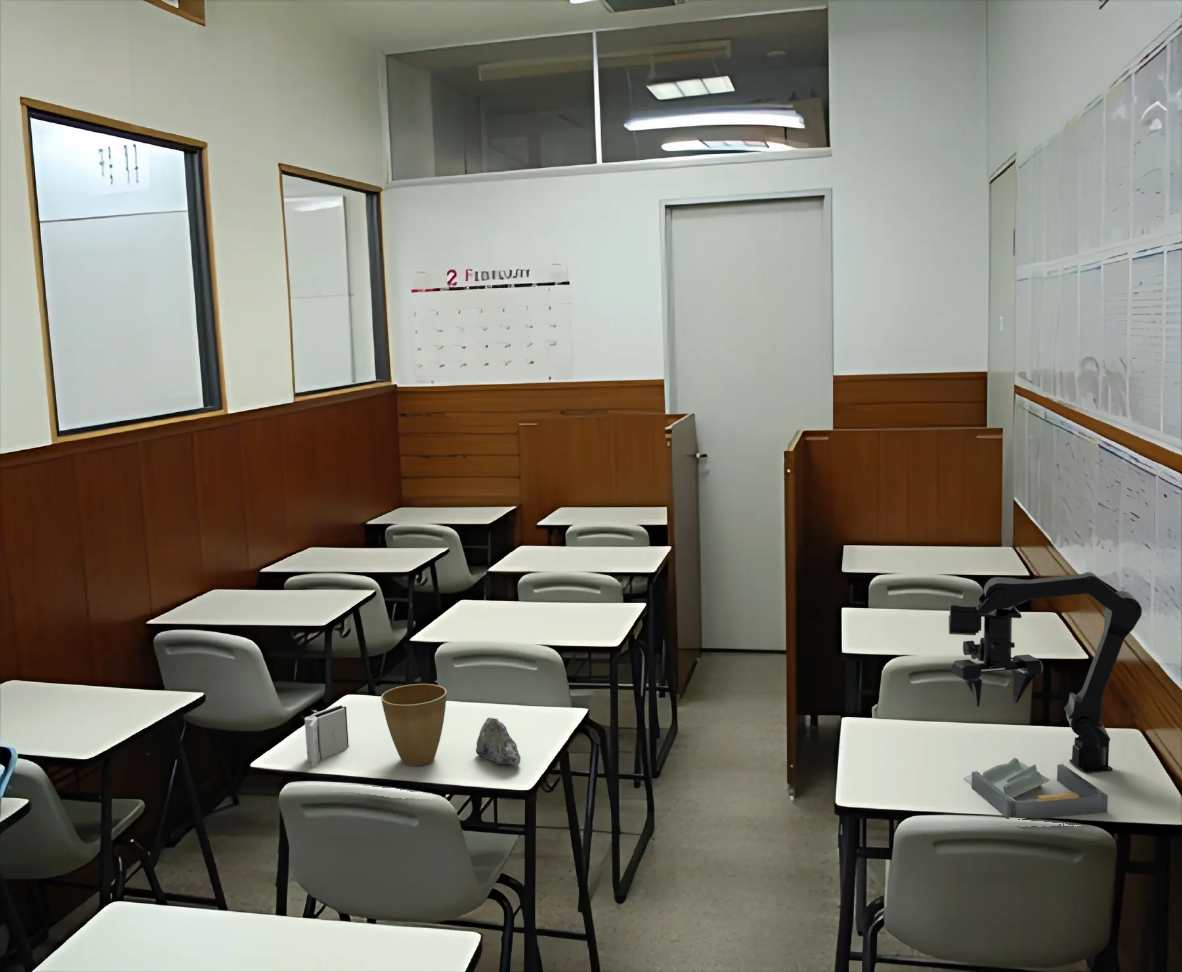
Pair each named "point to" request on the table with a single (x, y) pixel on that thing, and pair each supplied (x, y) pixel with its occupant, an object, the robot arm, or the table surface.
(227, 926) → the table surface
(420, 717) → the plant pot
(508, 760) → the mineral rock
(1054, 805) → the rail dock
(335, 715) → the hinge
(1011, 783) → the metal bracket
